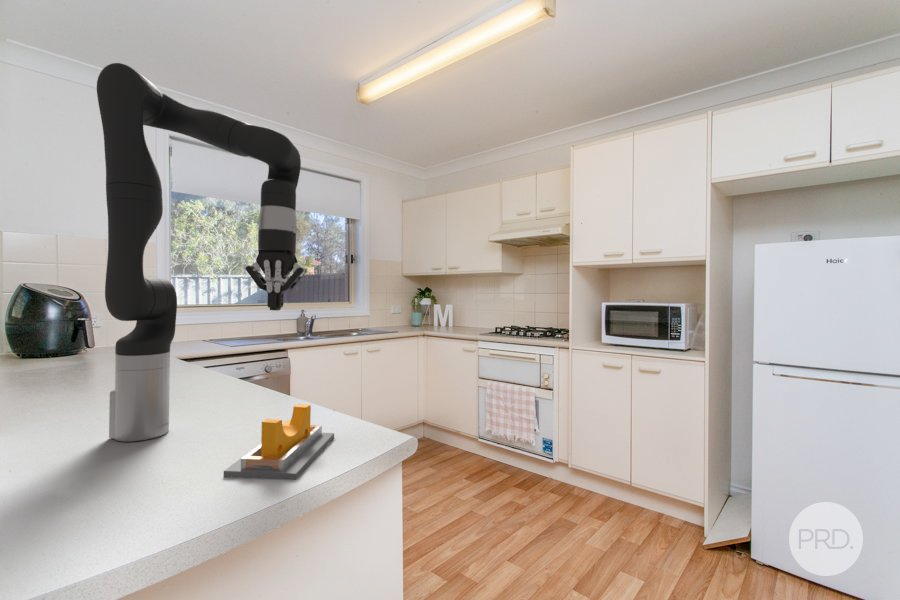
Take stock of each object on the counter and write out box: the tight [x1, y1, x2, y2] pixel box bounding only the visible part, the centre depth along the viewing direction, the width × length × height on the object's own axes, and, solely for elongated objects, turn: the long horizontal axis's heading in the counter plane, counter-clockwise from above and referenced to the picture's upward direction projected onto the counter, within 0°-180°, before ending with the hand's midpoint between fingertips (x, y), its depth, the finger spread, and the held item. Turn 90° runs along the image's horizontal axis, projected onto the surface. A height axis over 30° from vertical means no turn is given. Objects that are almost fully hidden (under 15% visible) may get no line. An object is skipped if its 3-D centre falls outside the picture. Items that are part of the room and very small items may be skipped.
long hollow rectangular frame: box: [240, 424, 323, 471], centre depth 77 cm, size 7×18×2 cm, turn 178°
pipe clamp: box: [260, 403, 312, 457], centre depth 76 cm, size 12×4×6 cm, turn 171°
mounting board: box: [223, 432, 335, 481], centre depth 77 cm, size 12×20×1 cm, turn 178°
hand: (275, 310), depth 89 cm, fingers closed
